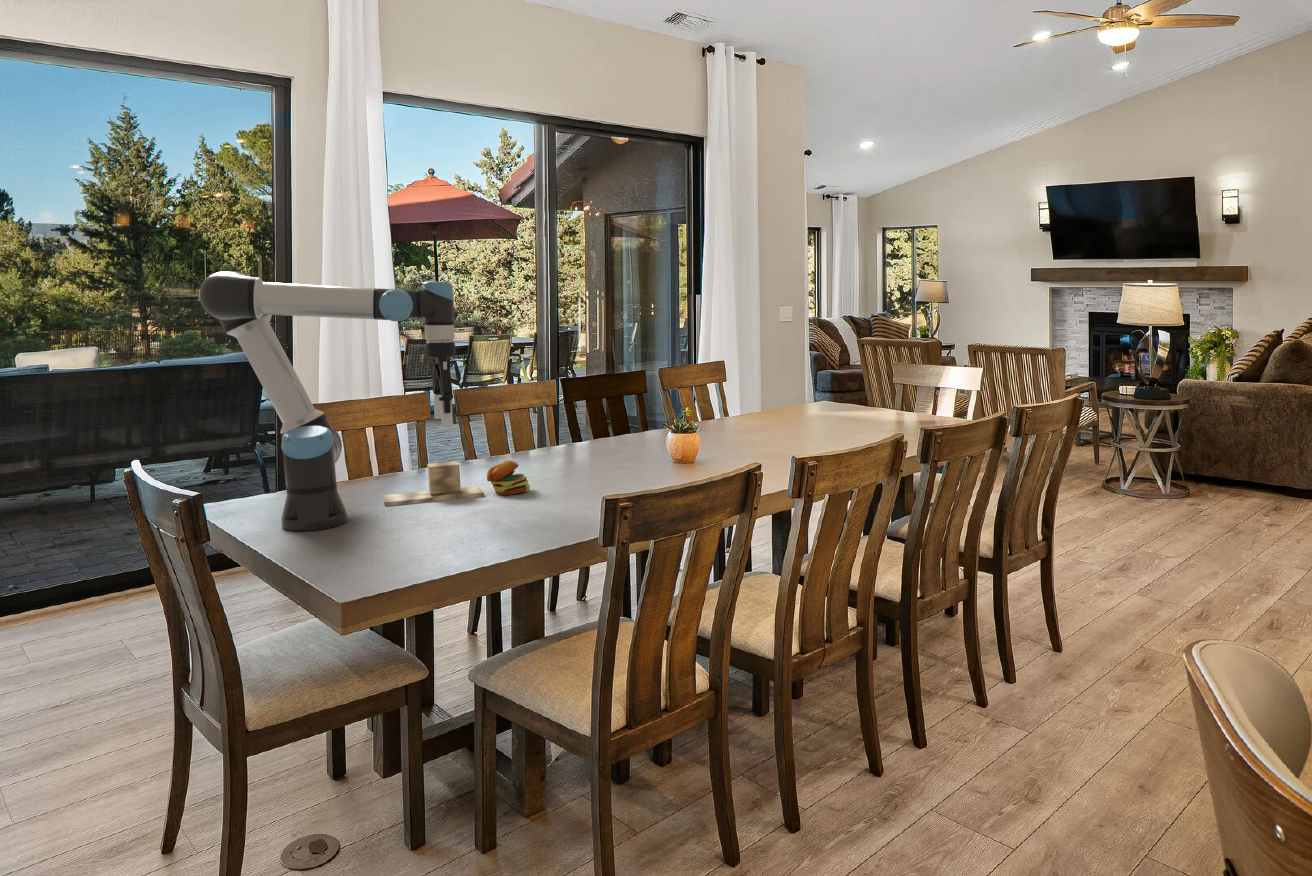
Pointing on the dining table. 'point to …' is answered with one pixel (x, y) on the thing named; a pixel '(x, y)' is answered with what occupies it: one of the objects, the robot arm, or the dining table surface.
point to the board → (426, 497)
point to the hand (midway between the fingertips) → (443, 422)
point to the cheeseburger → (507, 479)
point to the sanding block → (444, 478)
